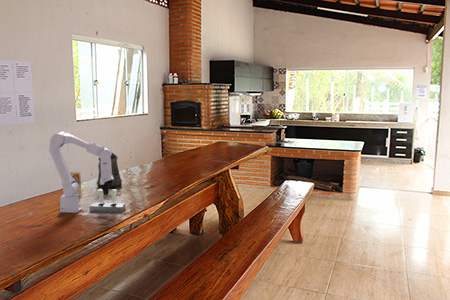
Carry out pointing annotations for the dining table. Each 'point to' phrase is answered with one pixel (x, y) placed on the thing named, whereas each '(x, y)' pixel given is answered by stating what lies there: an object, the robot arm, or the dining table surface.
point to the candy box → (77, 180)
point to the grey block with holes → (107, 207)
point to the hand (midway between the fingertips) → (107, 193)
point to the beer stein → (115, 173)
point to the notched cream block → (111, 192)
